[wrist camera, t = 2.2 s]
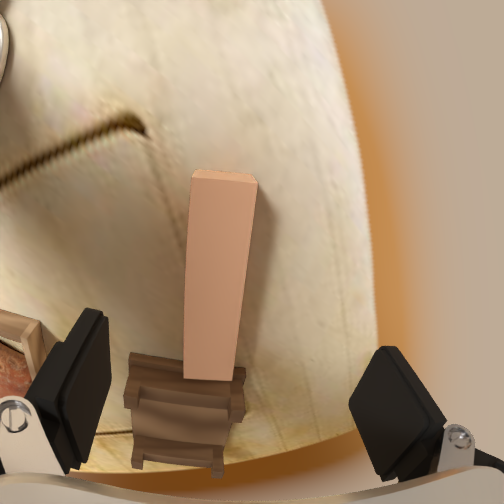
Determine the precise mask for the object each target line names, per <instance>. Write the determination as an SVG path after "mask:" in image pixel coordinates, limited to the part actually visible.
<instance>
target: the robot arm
mask: <svg viewBox="0 0 504 504" xmlns="http://www.w3.org/2000/svg"><path fill="white" fill-rule="evenodd" d="M8 43H9V37H8V28H7V25H6V22H5V20H4V18H3V17H2V15H1V14H0V82H1V79H2V76H3V72H4V69H5V65H6V60H7V55H8ZM111 379H112V374H111V362H110V346H109V322H108V317H106V316H104V315H103V312H102V311H100V310H95V309H90V308H85V309H84V311H83V312H82V314H81V315H80V317H79V319H78V320H77V322H76V323H75V325H74V326H73V328H72V330H71V331H70V333H69V335H68V336H67V338H66V340H65V341H64V342H60V341H58V342H57V343H56V344H55V345H54V346H53V348H52V350H51V351H50V353H49V355H48V356H47V358H46V360H45V361H44V363H43V365H42V366H41V368H40V370H39V371H38V373H37V375H36V377H35V378H34V380H33V382H32V384H31V385H30V387H29V389H28V391H27V393H26V395H25V396H24V398H22V397H19V396H6V397H3V398H0V504H504V461H502V460H500V459H498V458H496V457H494V456H492V455H489V454H487V453H485V452H482V451H480V450H478V449H476V448H475V440H474V437H473V435H472V434H471V432H470V431H469V430H468V429H466V428H465V427H463V426H461V425H458V424H451V425H448V427H447V428H445V429H444V428H443V425H444V424H445V423H446V422H447V420H446V418H445V416H444V415H443V414H442V412H441V411H440V409H439V407H438V406H437V404H436V403H435V401H434V400H433V398H432V397H431V395H430V394H429V392H428V391H427V389H426V388H425V387H424V385H423V383H422V382H421V381H420V379H419V378H418V376H417V375H416V373H415V372H414V370H413V369H412V368H411V366H410V365H409V364H408V362H407V360H406V359H405V358H404V356H403V355H402V353H401V352H400V351H399V349H398V348H397V347H395V346H381V347H380V348H379V349H378V350H376V351H375V353H374V355H373V357H372V359H371V361H370V363H369V365H368V366H367V368H366V370H365V372H364V374H363V376H362V378H361V380H360V381H359V383H358V385H357V387H356V389H355V390H354V392H353V394H352V396H351V397H350V399H349V409H350V411H351V414H352V416H353V418H354V421H355V423H356V426H357V428H358V430H359V433H360V435H361V438H362V440H363V442H364V445H365V447H366V450H367V452H368V455H369V457H370V460H371V462H372V464H373V467H374V469H375V472H376V474H377V475H380V477H381V480H382V482H385V481H389V480H393V479H395V478H396V477H398V480H399V481H398V483H397V484H392V485H388V486H384V487H379V488H374V489H369V490H365V491H359V492H353V493H347V494H340V495H333V496H325V497H316V498H307V499H295V500H278V501H222V500H205V499H193V498H183V497H175V496H167V495H160V494H152V493H145V492H140V491H134V490H129V489H124V488H118V487H114V486H109V485H105V484H100V483H95V482H91V481H86V480H82V479H77V478H71V477H66V474H68V473H69V471H70V468H73V469H76V470H79V469H80V466H81V462H82V463H86V462H87V460H88V457H89V453H90V450H91V446H92V443H93V439H94V436H95V433H96V429H97V426H98V423H99V419H100V416H101V413H102V410H103V407H104V404H105V401H106V397H107V394H108V391H109V388H110V385H111Z"/></svg>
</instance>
